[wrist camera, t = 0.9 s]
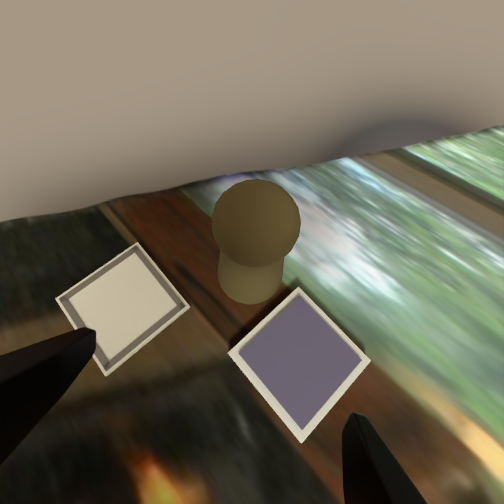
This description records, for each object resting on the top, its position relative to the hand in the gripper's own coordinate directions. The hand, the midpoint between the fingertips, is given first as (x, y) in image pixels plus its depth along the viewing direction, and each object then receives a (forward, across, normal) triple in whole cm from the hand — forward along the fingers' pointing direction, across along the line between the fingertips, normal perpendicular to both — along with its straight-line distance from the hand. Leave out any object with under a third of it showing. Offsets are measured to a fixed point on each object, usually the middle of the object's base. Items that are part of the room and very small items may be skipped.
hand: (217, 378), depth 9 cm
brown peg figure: (+15, +1, +3) cm, 16 cm away
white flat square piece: (+11, +10, +7) cm, 17 cm away
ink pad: (+11, -5, +7) cm, 14 cm away
